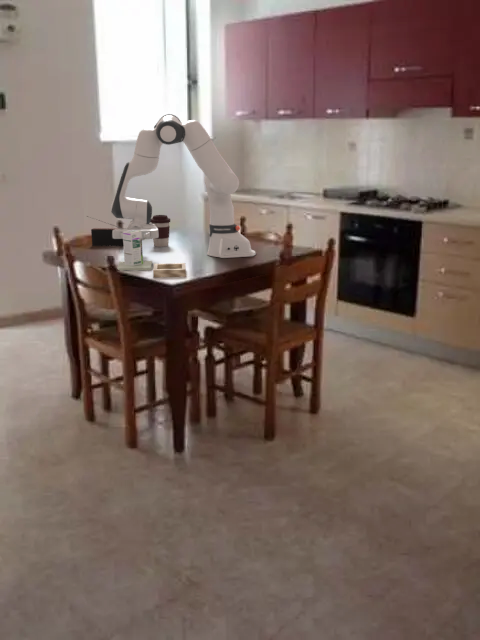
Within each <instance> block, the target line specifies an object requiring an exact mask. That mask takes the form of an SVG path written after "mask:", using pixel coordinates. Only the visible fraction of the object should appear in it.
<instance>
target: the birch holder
mask: <svg viewBox="0 0 480 640" xmlns="http://www.w3.org/2000/svg"><path fill="white" fill-rule="evenodd" d="M186 267H187V266H186V263H185V262H180V263H179V262H177V263H175V262H174V263H153V268H152V270H153V275H152V276H153V278H185V277H187V274H186V273H187V270H186V269H187V268H186Z"/></svg>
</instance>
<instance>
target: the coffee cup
mask: <svg viewBox="0 0 480 640" xmlns="http://www.w3.org/2000/svg"><path fill="white" fill-rule="evenodd" d="M170 223H171V218H170V217H168V215H167V214H155V215H152V217H151V221H150V224H155V226H156V227H157V228H158V234H159V237H158V238H155V239H152V240H153V246H154V247H158V248H164V247H168V246H169V243H170V242H169V241H170V239H169V238H170Z"/></svg>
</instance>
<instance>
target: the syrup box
mask: <svg viewBox="0 0 480 640" xmlns="http://www.w3.org/2000/svg"><path fill="white" fill-rule="evenodd" d="M123 244H124V246H123V256H124V262H125V265H129V266H136V265H141V264H143V261H144V255H143V254H144V253H143V240H142V234H141V231H139V230H131V231H124V232H123Z"/></svg>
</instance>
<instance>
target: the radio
mask: <svg viewBox="0 0 480 640" xmlns="http://www.w3.org/2000/svg"><path fill="white" fill-rule="evenodd" d="M86 217H88V218H91V219H93V220H96V221H100V222H102V223H105V224H108V225H110V226H113V227H116V228H118V229H123V228H122V227H121V226H117V225H115V224H112V223H108V222H105V221H102V220H100V219H96V218H94V217H92V216H88V215H86ZM113 227H112V228H101V227H100V228H98V227H95V228H91V229H90V231H91V233H90V234H91V246H92V247H124V244H123V239H113V235H112V231H113V230H114V229H116V228H113Z"/></svg>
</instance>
